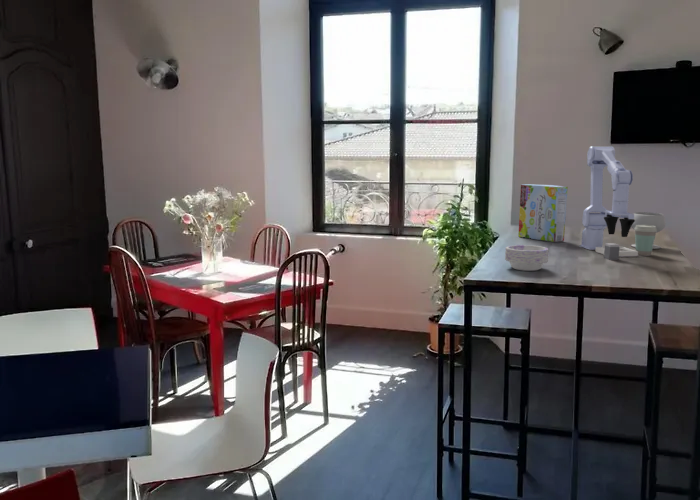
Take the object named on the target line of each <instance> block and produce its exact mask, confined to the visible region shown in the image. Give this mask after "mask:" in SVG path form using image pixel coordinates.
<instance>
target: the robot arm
mask: <svg viewBox="0 0 700 500" xmlns="http://www.w3.org/2000/svg"><path fill="white" fill-rule="evenodd" d="M586 153H587V155H586V157H587V158H586V160H587V161H586V163H587V166H588V167H590V200H589V202H590V205H589V206H588V207H586V208H585V209H583V214H582V219H581V222H582V226H583V227H584V228H583V230H582V232H581V234H582V235H581V244H580V245H579V248H582V249H583V248H584V249H585V250H589V251H590V250H595V251H596V247H604V243H603V242H604V231H605V230H606V228H607V231H608V235H615V232H616V228H617V227H616V226H617V222H618V220H619V223H620V228H621V229H620V230H621V231H620V232H621V233H620V234H621V237H622V238H628V235H629V233H630V230H631V228H632V224H633V223H634V222H635V220H634V213H630V212H628V210H629V209H628V208H629V196H630V186H631V185H632V184H633V180H634V173H633V172H632V170H631V169H626V168H625V166H624V165H623V163H622V162H621V161H620V160H617V158H616V149H615V147H614V146H612V145H610V146H595V145H594V146H593V145H591V146H589V148H588V150H587V152H586ZM606 167H607V168H606ZM605 168H606V169H607V172H608V173H609V174H610V176H611V177H610V178H611V184H612V185H611V189H612V190H613V191H612V205H611V210H608V209H607V208H606V207H605V206H604V205H603V194H604V193H603V186H604V183H603V182H604V180H603V179H604V169H605Z"/></svg>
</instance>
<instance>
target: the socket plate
mask: <svg viewBox="0 0 700 500" xmlns="http://www.w3.org/2000/svg"><path fill="white" fill-rule="evenodd" d="M604 250H605V246H602V247H596V250H595V252H596V253H598V254H601V255H604ZM638 256H639V255H638V251H636V249H632V248H628V247H625V246H620V248H619V257H638Z"/></svg>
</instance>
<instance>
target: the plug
mask: <svg viewBox="0 0 700 500" xmlns="http://www.w3.org/2000/svg"><path fill="white" fill-rule="evenodd" d="M604 247H605V250H604V254H603V259H606V260H610V261H615V260H616V261H617V260H619V257H620V256H619V248H620V247H621V246H620V244H618V243H615V242H612V243H611V242H610V243H609V242H608V243H607V242H605V243H604Z"/></svg>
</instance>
